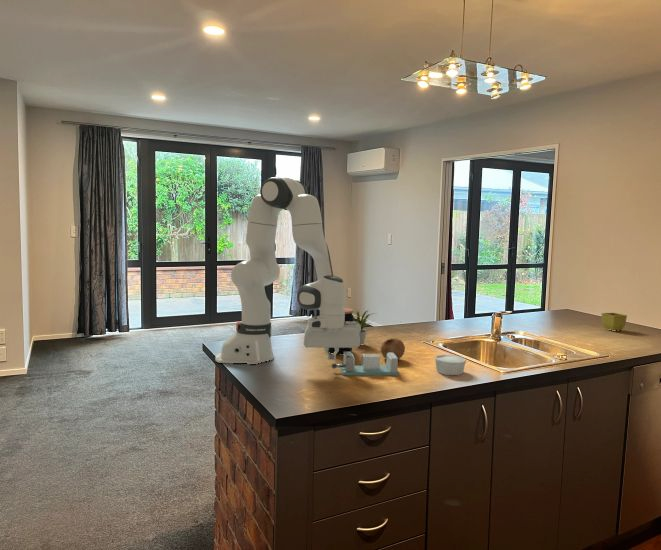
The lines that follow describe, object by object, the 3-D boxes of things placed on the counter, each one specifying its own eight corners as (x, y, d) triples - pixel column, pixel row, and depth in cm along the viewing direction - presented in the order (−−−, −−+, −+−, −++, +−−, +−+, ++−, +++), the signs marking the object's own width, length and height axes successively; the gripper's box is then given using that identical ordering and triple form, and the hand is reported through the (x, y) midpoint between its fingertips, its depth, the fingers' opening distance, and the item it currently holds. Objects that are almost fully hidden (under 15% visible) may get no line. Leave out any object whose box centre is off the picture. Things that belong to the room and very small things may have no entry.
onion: (388, 369, 191) (383, 349, 187) (380, 357, 200) (374, 337, 195) (410, 360, 192) (405, 340, 188) (401, 348, 201) (396, 328, 196)
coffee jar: (330, 355, 198) (331, 312, 196) (323, 349, 208) (324, 307, 206) (355, 354, 201) (356, 311, 199) (347, 348, 211) (348, 306, 209)
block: (363, 370, 175) (363, 356, 175) (361, 367, 179) (361, 353, 179) (379, 370, 176) (380, 356, 175) (377, 367, 180) (378, 353, 179)
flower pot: (599, 329, 265) (600, 312, 264) (612, 328, 267) (613, 312, 267) (613, 332, 256) (614, 315, 256) (626, 332, 259) (627, 315, 258)
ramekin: (442, 366, 188) (443, 352, 187) (470, 372, 181) (471, 358, 180) (428, 372, 179) (429, 358, 179) (457, 379, 172) (458, 364, 172)
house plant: (377, 341, 224) (378, 306, 223) (376, 348, 211) (378, 311, 209) (346, 339, 226) (347, 305, 224) (343, 347, 212) (344, 310, 210)
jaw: (332, 371, 172) (332, 357, 172) (330, 365, 180) (331, 351, 179) (354, 371, 173) (354, 357, 172) (351, 365, 181) (352, 351, 180)
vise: (342, 375, 173) (343, 358, 172) (340, 368, 180) (341, 352, 180) (398, 375, 174) (399, 358, 174) (393, 368, 182) (394, 352, 182)
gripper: (359, 319, 178) (358, 356, 180) (303, 319, 177) (303, 356, 178) (362, 323, 172) (361, 361, 173) (304, 323, 170) (303, 361, 172)
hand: (331, 359), depth 176 cm, fingers closed
